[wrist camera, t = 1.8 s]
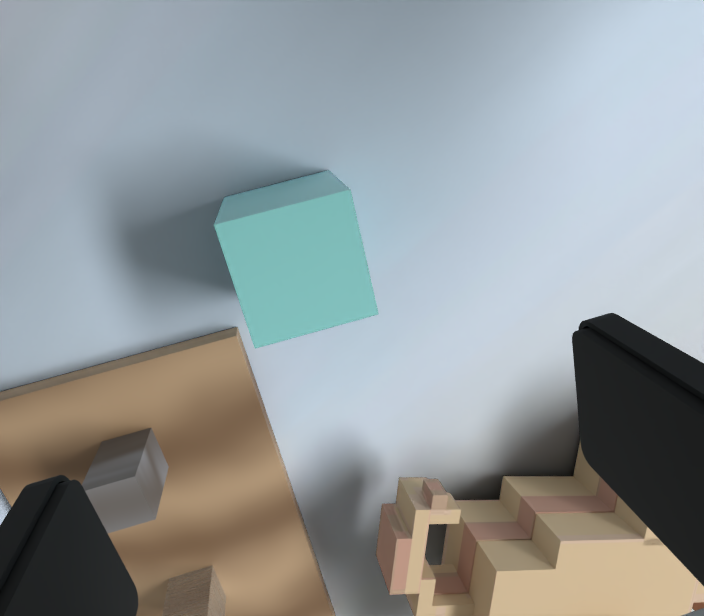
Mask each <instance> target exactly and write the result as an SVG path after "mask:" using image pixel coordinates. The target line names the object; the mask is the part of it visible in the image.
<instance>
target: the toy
mask: <svg viewBox="0 0 704 616" xmlns="http://www.w3.org/2000/svg"><path fill="white" fill-rule="evenodd" d="M429 524H447V528H446V535H445V542H444V549H443V555H442V562H441V565H429V564H428V562H427V560H426V558H425V550H426V543H427V536H428V529H429ZM376 557H377V559H378V562H379V565H380V568H381V571H382V574H383V577H384V580H385V583H386V586H387V589H388V591H389V594H390V595H397V594H406V597H407V599H408V602H409V604H410V607H411V610H412V612H413V615H414V616H681V615H684V614H687V613H690V612H691V610H692V609H694V610H695V611H696V610H699V609H702V608H704V586H703V585H702V584H701V583H700V582H699V581H698V580H697V579H696V578H695V577H694V576H693V574H692V573H691V572H690V571H689V570H688V569H687V568H686V567H685V566H684V565H683V564H682V563H681V562H680V561H679V560H678V559H677V558H676V556H675V555H674V554H673V553H672V552H671V551H670V550H669V549H668V548H667V547H666V546H665V545H664V544H663V543H662V542H661V541H660V539H659V538H658V537H657V536H656V535H655V534H654V533H653V532H652V531H651V530H650V529H649V528H648V527H647V526H646V525H645V524H644V523H643V521H642V520H641V519H640V518H639V517H638V516H637V515H636V514H635V513H634V512H633V511H632V510H631V509H630V508H629V507H628V506H627V505H626V503H625V502H624V501H623V500H622V499H621V498H620V497H619V496H618V495H617V494H616V493H615V492H614V491H613V490H612V489H611V488H610V486H609V485H608V484H607V483H606V482H605V481H604V480H603V479H602V478H601V477H600V476H599V475H598V474H597V473H596V472H595V471H594V470H593V468H592V467H591V466H590V465H589V464H588V462H587V461H586V459H585V457H584V455H583V452H582V449H581V440H580V444H579V449H578V454H577V459H576V465H575V470H574V475H573V476H503V480H502V486H501V492H500V498H499V500H454V498H453V497H452V495H451V494H450V493H447V492H446V491H445V489H444V488H443V486H442V485H441V483H440V482H439V480H438V479H427V478H426V477H399V482H398V490H397V498H396V504H382V508H381V516H380V524H379V532H378V541H377V549H376Z"/></svg>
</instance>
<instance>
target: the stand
mask: <svg viewBox="0 0 704 616" xmlns="http://www.w3.org/2000/svg"><path fill="white" fill-rule="evenodd" d="M58 475H65V476H66V477H67V478H69V480H74V479H75V480H78V481H79V482H80V483H81V485H82V486H83V488H84V490H85V492H86V494H87V496H88V498H89V500H90V501H91V503H92V505H93V507H94V509H95V511H96V513H97V515H98V516H99V518H100V520H101V522H102V524H103V526H104V528H105V530H106V531H107V533H108V535H109V537H110V539H111V541H112V543H113V545H114V547H115V548H116V550H117V552H118V554H119V556H120V558H121V560H122V562H123V563H124V565H125V567H126V569H127V571H128V573H129V575H130V577H131V578H132V580H133V582H134V584H135V586H136V589H137V593H138V610H137V614H136V616H162V614H163V609H164V603H165V598H166V593H167V587H168V582H169V578H172V577H175V576H179V575H182V574H185V573H189V572H192V571H195V570H198V569H202V568H205V567H208V566H211V565H213V568H214V570H215V572H216V574H217V577H218V579H219V581H220V583H221V586H222V588H223V590H224V592H225V595H226V604H225V616H335V612H334V609H333V606H332V604H331V601H330V598H329V595H328V592H327V589H326V586H325V583H324V580H323V577H322V574H321V571H320V568H319V565H318V562H317V559H316V557H315V554H314V551H313V548H312V545H311V542H310V539H309V536H308V533H307V530H306V527H305V524H304V521H303V518H302V515H301V513H300V510H299V507H298V504H297V501H296V498H295V495H294V492H293V489H292V486H291V483H290V480H289V477H288V474H287V471H286V468H285V466H284V463H283V460H282V457H281V454H280V451H279V448H278V445H277V442H276V439H275V436H274V433H273V430H272V427H271V424H270V421H269V419H268V416H267V413H266V410H265V407H264V404H263V401H262V398H261V395H260V392H259V389H258V386H257V383H256V380H255V377H254V374H253V372H252V369H251V366H250V363H249V360H248V357H247V354H246V351H245V348H244V345H243V342H242V339H241V336H240V333H239V330H238V328H237V327H235V328H231V329H227V330H224V331H220V332H216V333H213V334H209V335H206V336H202V337H198V338H195V339H191V340H187V341H184V342H180V343H176V344H173V345H169V346H165V347H162V348H158V349H155V350H151V351H147V352H144V353H140V354H136V355H133V356H129V357H125V358H122V359H118V360H115V361H111V362H107V363H104V364H100V365H96V366H93V367H89V368H85V369H82V370H78V371H74V372H71V373H67V374H64V375H60V376H56V377H53V378H49V379H45V380H42V381H38V382H34V383H31V384H27V385H23V386H20V387H16V388H13V389H9V390H5V391H2V392H0V489H1V490H2V492H3V494H4V495H5V497H6V499H7V500H8V502H9V504H10V505H11V507H12V506H13V504H14V503H15V501H16V499H17V498H18V496H19V494H20V493H21V491H22V490H23V488H24V487H25V486H26V485H28V484H31V483H34V482H38V481H41V480H45V479H48V478H51V477H55V476H58Z"/></svg>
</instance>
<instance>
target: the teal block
mask: <svg viewBox="0 0 704 616" xmlns="http://www.w3.org/2000/svg"><path fill="white" fill-rule="evenodd" d="M214 227H215V230H216V233H217V236H218V239H219V242H220V245H221V248H222V251H223V254H224V257H225V260H226V263H227V266H228V269H229V272H230V275H231V278H232V281H233V284H234V287H235V290H236V293H237V296H238V299H239V302H240V305H241V308H242V311H243V314H244V317H245V320H246V323H247V326H248V329H249V332H250V335H251V338H252V341H253V344H254V347H255V348H259V347H262V346H266V345H270V344H273V343H277V342H280V341H284V340H288V339H291V338H295V337H298V336H302V335H306V334H309V333H313V332H316V331H320V330H324V329H327V328H331V327H334V326H338V325H342V324H345V323H349V322H352V321H356V320H359V319H363V318H367V317H370V316H374V315H377V314H378V310H377V305H376V301H375V296H374V292H373V287H372V283H371V279H370V274H369V270H368V265H367V261H366V257H365V252H364V248H363V243H362V239H361V234H360V230H359V226H358V221H357V217H356V212H355V208H354V204H353V199H352V195H351V190H350V189H349V188H348V187H347V186H346V185H345V184H344V183H342V182H341V181H340V180H339V179H338V178H337V177H336V176H335V175H333V174H332V173H331V172H330V171H329V170H328V171H324V172H320V173H316V174H312V175H308V176H304V177H300V178H297V179H293V180H289V181H285V182H281V183H277V184H273V185H269V186H265V187H262V188H258V189H254V190H250V191H246V192H242V193H238V194H234V195H230V196H227V197H224V199H223V202H222V204H221V207H220V210H219V212H218V215H217V218H216V221H215V223H214Z"/></svg>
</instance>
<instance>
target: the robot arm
mask: <svg viewBox="0 0 704 616" xmlns="http://www.w3.org/2000/svg"><path fill="white" fill-rule="evenodd" d="M572 343H573V355H574V368H575V380H576V392H577V404H578V416H579V428H580V440H581V449H582V452H583V455H584V457H585V459H586V461H587V462H588V464H589V465H590V466H591V467H592V468H593V470H594V471H595V472H596V473H597V474H598V475H599V476H600V477H601V478H602V479H603V480H604V481H605V482H606V483H607V484H608V485H609V486H610V488H611V489H612V490H613V491H614V492H615V493H616V494H617V495H618V496H619V497H620V498H621V499H622V500H623V501H624V502H625V503H626V505H627V506H628V507H629V508H630V509H631V510H632V511H633V512H634V513H635V514H636V515H637V516H638V517H639V518H640V519H641V520H642V521H643V523H644V524H645V525H646V526H647V527H648V528H649V529H650V530H651V531H652V532H653V533H654V534H655V535H656V536H657V537H658V538H659V539H660V541H661V542H662V543H663V544H664V545H665V546H666V547H667V548H668V549H669V550H670V551H671V552H672V553H673V554H674V555H675V556H676V558H677V559H678V560H679V561H680V562H681V563H682V564H683V565H684V566H685V567H686V568H687V569H688V570H689V571H690V572H691V573H692V574H693V576H694V577H695V578H696V579H697V580H698V581H699V582H700V583H701V584H702V585H703V586H704V363H702V362H700V361H698V360H697V359H695V358H693V357H691V356H689V355H688V354H686V353H684V352H682V351H681V350H679V349H677V348H675V347H673V346H672V345H670V344H668V343H666V342H665V341H663V340H661V339H659V338H658V337H656V336H654V335H652V334H650V333H649V332H647V331H645V330H643V329H642V328H640V327H638V326H636V325H634V324H633V323H631V322H629V321H627V320H626V319H624V318H622V317H620V316H619V315H617V314H614V313H609V314H605V315H602V316H599V317H595V318H592V319H588V320H585V321H582V322H581V323H580V326H579V330H578V331H575V332H574V333H573V336H572ZM137 610H138V593H137V589H136V586H135V584H134V582H133V580H132V578H131V577H130V575H129V573H128V571H127V569H126V567H125V565H124V563H123V562H122V560H121V558H120V556H119V554H118V552H117V550H116V548H115V547H114V545H113V543H112V541H111V539H110V537H109V535H108V533H107V531H106V530H105V528H104V526H103V524H102V522H101V520H100V518H99V516H98V515H97V513H96V511H95V509H94V507H93V505H92V503H91V501H90V500H89V498H88V496H87V494H86V492H85V490H84V488H83V486H82V485H81V483H80V482H79V481H78V480H75V479H74V480H69V478H67V477H66V476H65V475H58V476H55V477H51V478H48V479H45V480H41V481H38V482H34V483H31V484H28V485H26V486H25V487H24V488H23V490H22V491H21V493H20V494H19V496H18V498H17V499H16V501H15V503H14V504H13V506H12V507H11V509H10V511H9V512H8V514H7V516H6V517H5V519H4V521H3V522H2V524H1V525H0V616H136V614H137ZM681 616H704V608H702V609H699V610H696V611H693V612H690V613H687V614H684V615H681Z"/></svg>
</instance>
